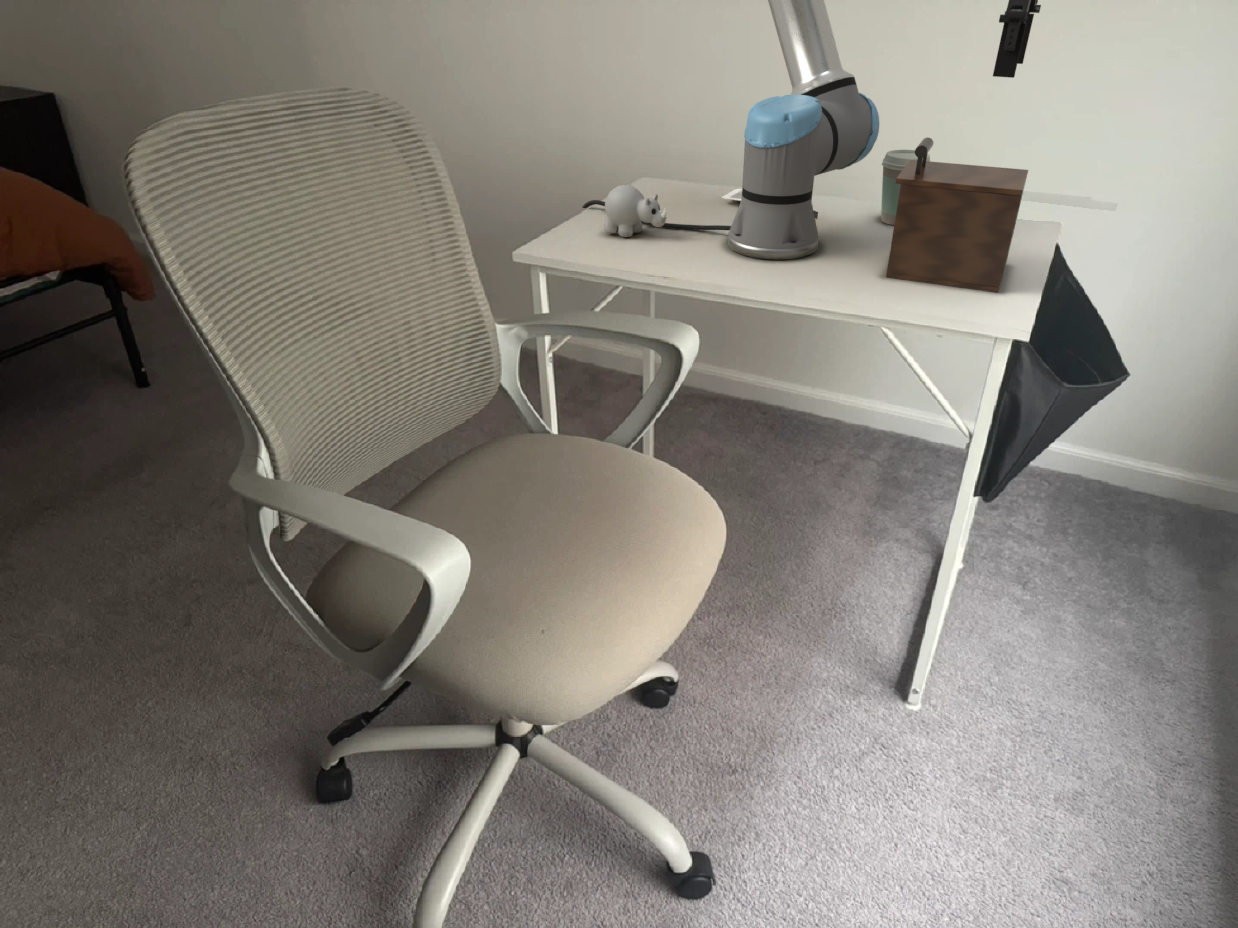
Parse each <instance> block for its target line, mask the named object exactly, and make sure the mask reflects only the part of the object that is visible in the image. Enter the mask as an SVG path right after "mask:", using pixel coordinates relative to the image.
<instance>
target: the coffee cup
mask: <svg viewBox="0 0 1238 928" xmlns="http://www.w3.org/2000/svg"><path fill="white" fill-rule="evenodd" d="M917 159H918V157H917V156H916V155H915V149H892V150H888V151H887V152H886V153H885V155H884V158H882V162H881V166H882V181H881V183H882V184H881V209H880V221H881V222H882V223H884V224H886V225H891V226H894V224H895V217H896V211H897V205H898V199H899V193H900V187H901V184H895V183H896V178H897V177H898V175H899V174H900V173H901V172H902V170H903V169H904V168H905V166H906V165H907V164H908V162H909V161H910V160H917ZM927 161H930V162H932V161H931V154H929V153H928V155H927Z"/></svg>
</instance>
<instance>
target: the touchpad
mask: <svg viewBox="0 0 1238 928" xmlns="http://www.w3.org/2000/svg"><path fill="white" fill-rule="evenodd" d="M720 199H725V200H732V201H738V202H741V199H742V188H736V189H733V190H732V191H730V192H728V193H727V194H725V195H722V196H721V197H720Z"/></svg>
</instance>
